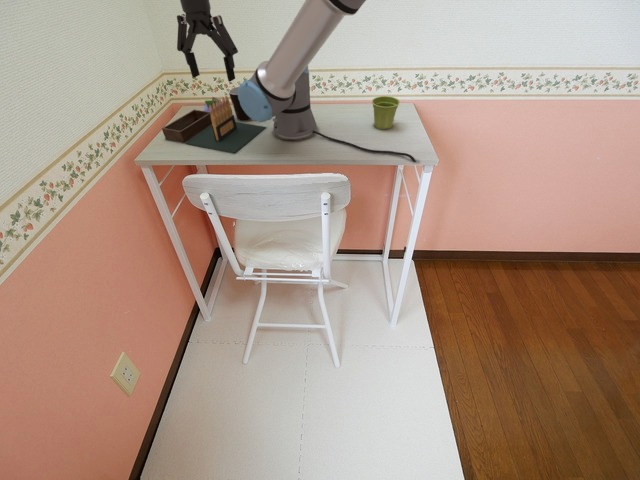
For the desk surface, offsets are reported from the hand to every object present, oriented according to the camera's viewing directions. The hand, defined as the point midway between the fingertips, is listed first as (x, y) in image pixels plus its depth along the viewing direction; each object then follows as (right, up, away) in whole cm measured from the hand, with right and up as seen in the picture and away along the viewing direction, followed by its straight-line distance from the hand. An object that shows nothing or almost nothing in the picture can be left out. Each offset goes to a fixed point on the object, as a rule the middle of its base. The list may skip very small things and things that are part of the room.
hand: (213, 78), depth 103 cm
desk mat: (0, -14, +13) cm, 19 cm away
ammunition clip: (0, -14, +13) cm, 19 cm away
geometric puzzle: (-8, -2, +26) cm, 27 cm away
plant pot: (+56, -10, +14) cm, 59 cm away
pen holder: (-14, -11, +17) cm, 24 cm away
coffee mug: (+5, -3, +25) cm, 26 cm away
